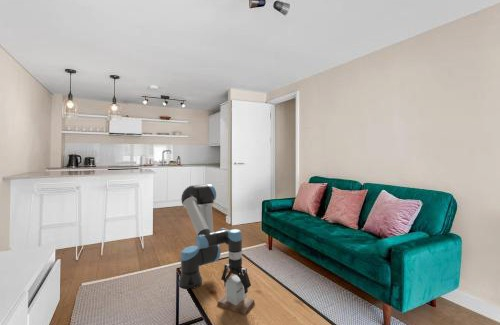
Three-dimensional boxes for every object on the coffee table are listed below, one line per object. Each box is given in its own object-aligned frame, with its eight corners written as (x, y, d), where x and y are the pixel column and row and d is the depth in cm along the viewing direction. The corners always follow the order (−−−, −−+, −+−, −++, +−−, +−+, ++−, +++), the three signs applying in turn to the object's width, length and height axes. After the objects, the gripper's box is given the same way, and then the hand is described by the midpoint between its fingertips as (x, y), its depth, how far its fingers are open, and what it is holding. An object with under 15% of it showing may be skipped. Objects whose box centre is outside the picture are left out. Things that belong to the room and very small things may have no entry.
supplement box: (236, 306, 134) (235, 283, 134) (226, 301, 139) (226, 279, 138) (244, 299, 140) (244, 278, 140) (235, 295, 145) (234, 274, 144)
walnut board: (217, 304, 139) (217, 301, 139) (228, 294, 149) (228, 291, 149) (244, 314, 131) (244, 310, 130) (254, 303, 140) (254, 299, 140)
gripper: (214, 256, 141) (215, 293, 142) (250, 264, 130) (250, 304, 130) (222, 251, 148) (222, 286, 149) (256, 259, 136) (257, 297, 137)
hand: (235, 295), depth 140 cm, fingers open, 11 cm apart
